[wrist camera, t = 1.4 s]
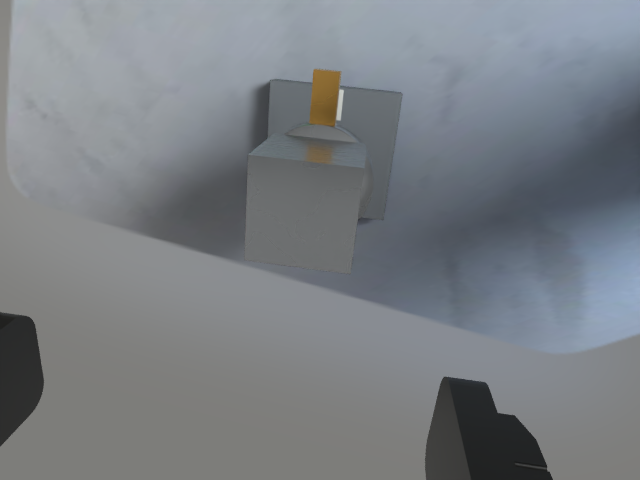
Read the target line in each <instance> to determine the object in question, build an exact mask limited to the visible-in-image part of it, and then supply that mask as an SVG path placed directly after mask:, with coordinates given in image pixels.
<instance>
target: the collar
mask: <svg viewBox="0 0 640 480" xmlns="http://www.w3.org/2000/svg"><path fill="white" fill-rule="evenodd" d="M340 80H341V71H333V70H323V69H314V72H313V84H312V96H311V108H310V120H309V121H308V122H304V123H301V124H298V125H296V126H294V127H292V128H290V129H289V130H288V131H286V132H285V133H284V134H277V133H274V134H272V135H271V136H270V137H269V138H268V139H266V140H265V141H264V142H263V143H261V144H260V145H259V146H258V147H257V148H255V149H254V150H253V151H252V152H251V153H249V154H248V170H247V198H246V225H245V253H244V260H246V261H254V262H261V263H269V264H276V265H284V266H292V267H299V268H307V269H315V270H322V271H330V272H337V273H345V274H351V266H352V259H353V251H354V244H355V236H356V228H357V221H358V220H359V219H360V218H361V217H362V215H363V214H364V212H365V211H366V209H367V207H368V205H369V203H370V200H371V197H372V192H373V165H372V161H371V158H370V155H369V153H368V151H367V149H366V144H365V143H362V141H361V140H360V139H359V138H358V137H357V136H356V135H355V134H354V133H353V132H351V131H350V130H348V129H347V128H345V127H343V126H341V125H339V124H336V118H337V108H338V99H339V89H340Z"/></svg>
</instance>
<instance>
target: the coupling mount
mask: <svg viewBox="0 0 640 480" xmlns="http://www.w3.org/2000/svg"><path fill="white" fill-rule="evenodd" d="M312 84H313V83H308V82H299V81H289V80H280V79H273V80H270V96H269V116H268V135H267V139H268V138H269V137H270V136H271V135H272V134H274V133H277V134H284V133H285V132H286V131H288V130H289V129H290V128H292V127H294V126H296V125H298V124H301V123H304V122H308V121H309V120H310V108H311V96H312ZM401 100H402V93H401V92H393V91H384V90H374V89H365V88H355V87H346V86H340V89H339V99H338V108H337V118H336V124H339V125H341V126H343V127H345V128H347V129H348V130H350V131H351V132H353V133H354V134H355V135H356V136H357V137H358V138H359V139H360V140H361V141H362V143H365V144H366V149H367V151H368V153H369V155H370V158H371V161H372V165H373V192H372V197H371V200H370V203H369V205H368V207H367V209H366V211H365V212H364V214H363V215H362V217H361V218H369V219H377V220H383V218H384V211H385V205H386V198H387V192H388V185H389V179H390V172H391V166H392V159H393V153H394V146H395V140H396V133H397V126H398V120H399V113H400V107H401Z"/></svg>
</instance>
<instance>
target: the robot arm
mask: <svg viewBox="0 0 640 480" xmlns="http://www.w3.org/2000/svg"><path fill="white" fill-rule="evenodd" d="M43 385H44V379H43V372H42V366H41V359H40V353H39V347H38V340H37V334H36V328H35V324H34V322H33V320H32V319H31V318H30V317H27V316H22V315H15V314H8V313H1V312H0V446H1V445H2V444H3V443H4V442H5V441H6V440H7V439H8V438H9V437H10V436H11V434H12V433H13V432H14V431H15V430H16V429H17V428H18V427H19V426H20V425H21V424H22V423H23V422H24V421H25V420H26V419H27V417H28V416H29V415H30V414H31V413H32V412H33V410H34V409H35V408H36V406H37V404H38V402H39V400H40V398H41V395H42V391H43ZM425 470H426V480H553V479H552V477H551V474H550V472H547V465H546V462H545V460H544V458H543V455H542V453H541V450H540V448H539V445H538V443H537V441H536V439H535V438H534V437H533V436H532V434H531V433H530V432H529V431H528V430H527V429H526V428H525V427H524V425H522V423H521V422H520V421H519V420H518V419H517V418H516V416H514V415H507V414H500V413H497V410H496V407H495V404H494V401H493V398H492V395H491V393H490V390H489V387H488V385H487V384H486V383H485V382H479V381H472V380H465V379H458V378H451V377H444V378H443V379H442V381H441V384H440V389H439V392H438V396H437V401H436V405H435V410H434V414H433V418H432V422H431V426H430V430H429V435H428V439H427V445H426V458H425Z"/></svg>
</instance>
